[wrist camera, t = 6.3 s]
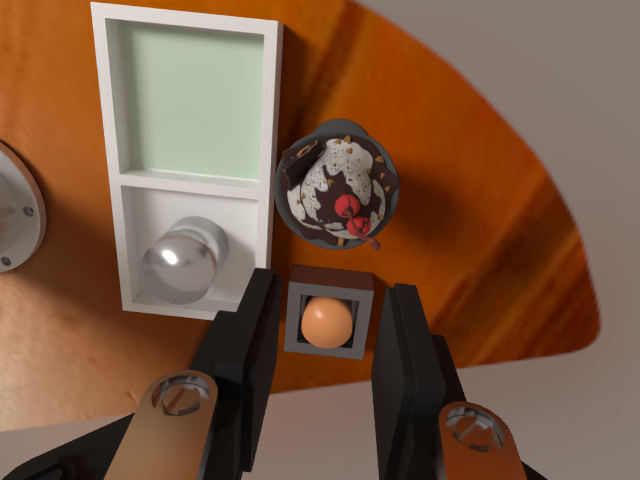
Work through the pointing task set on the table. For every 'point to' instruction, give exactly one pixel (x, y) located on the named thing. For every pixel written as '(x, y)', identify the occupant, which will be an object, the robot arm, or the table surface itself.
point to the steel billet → (185, 260)
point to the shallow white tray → (189, 139)
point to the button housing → (329, 285)
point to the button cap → (327, 321)
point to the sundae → (337, 186)
